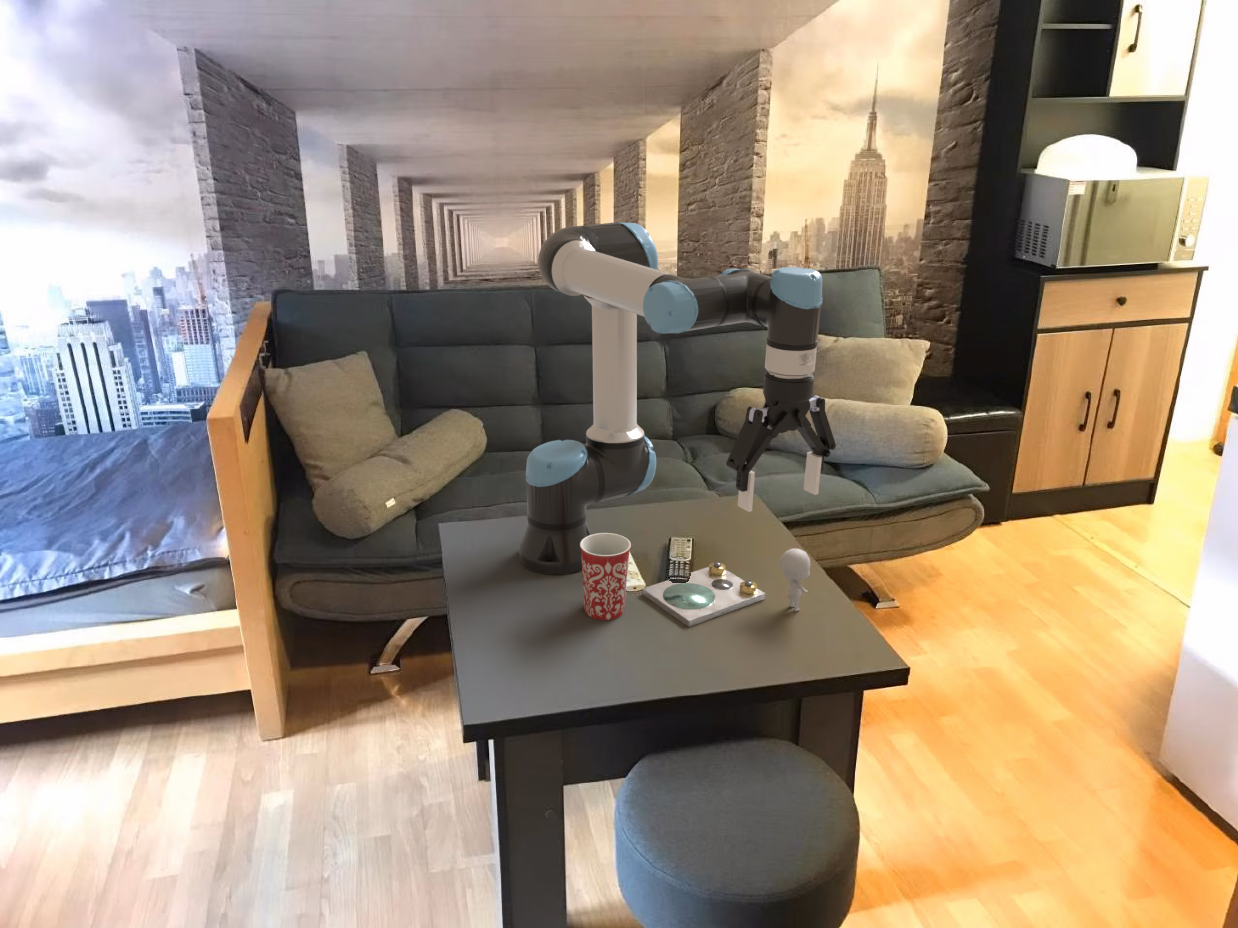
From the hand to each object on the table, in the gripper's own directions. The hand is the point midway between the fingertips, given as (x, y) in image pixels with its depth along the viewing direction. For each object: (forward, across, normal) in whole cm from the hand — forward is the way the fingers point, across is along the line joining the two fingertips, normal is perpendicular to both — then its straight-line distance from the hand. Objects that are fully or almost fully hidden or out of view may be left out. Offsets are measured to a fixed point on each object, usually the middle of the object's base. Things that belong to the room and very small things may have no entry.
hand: (778, 500), depth 155 cm
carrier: (+27, +1, +19) cm, 33 cm away
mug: (+28, -17, +26) cm, 41 cm away
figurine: (+27, +12, +8) cm, 31 cm away
